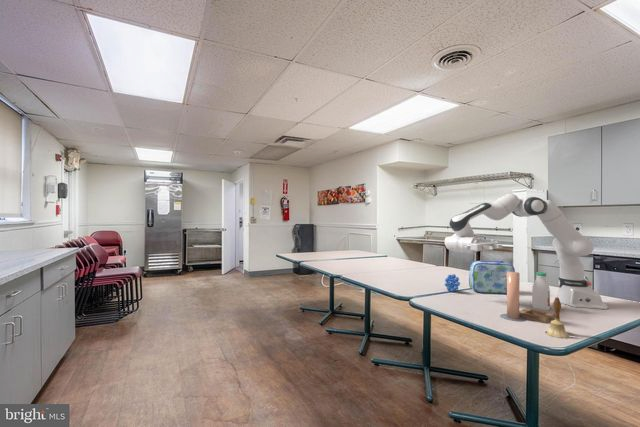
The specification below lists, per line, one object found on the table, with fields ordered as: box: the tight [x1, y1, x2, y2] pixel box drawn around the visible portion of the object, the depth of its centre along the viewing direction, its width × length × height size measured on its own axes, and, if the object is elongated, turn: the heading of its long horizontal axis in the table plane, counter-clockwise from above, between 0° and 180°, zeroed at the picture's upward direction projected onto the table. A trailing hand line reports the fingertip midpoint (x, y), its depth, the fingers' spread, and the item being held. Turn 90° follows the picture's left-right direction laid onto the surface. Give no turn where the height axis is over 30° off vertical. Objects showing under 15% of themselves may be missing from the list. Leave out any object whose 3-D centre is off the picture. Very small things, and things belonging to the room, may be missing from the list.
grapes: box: [444, 273, 461, 293], centre depth 203 cm, size 12×7×12 cm, turn 26°
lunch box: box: [468, 260, 516, 295], centre depth 202 cm, size 26×11×21 cm, turn 81°
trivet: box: [499, 313, 528, 323], centre depth 150 cm, size 11×11×1 cm
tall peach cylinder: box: [506, 271, 520, 319], centre depth 150 cm, size 5×5×22 cm
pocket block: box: [519, 307, 555, 324], centre depth 150 cm, size 12×12×3 cm
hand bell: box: [544, 296, 570, 339], centre depth 131 cm, size 8×8×16 cm
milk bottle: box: [531, 271, 551, 311], centre depth 166 cm, size 8×8×20 cm
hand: (497, 247), depth 162 cm, fingers open, 8 cm apart
